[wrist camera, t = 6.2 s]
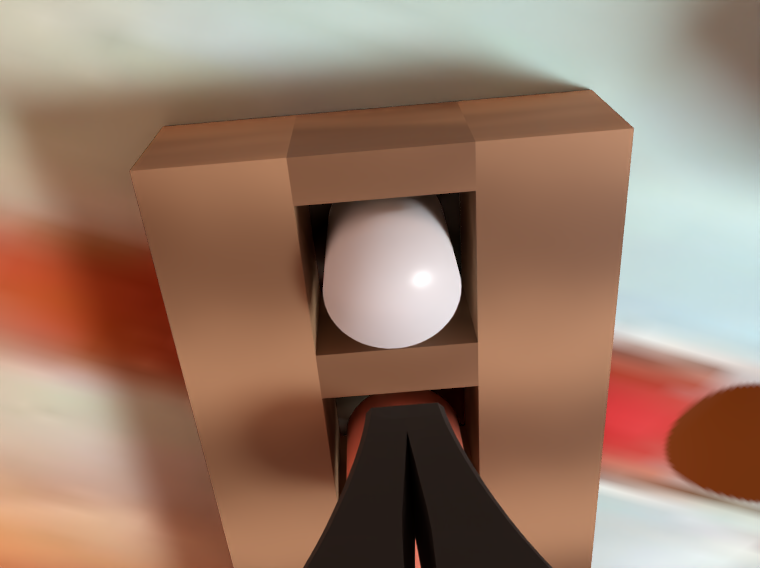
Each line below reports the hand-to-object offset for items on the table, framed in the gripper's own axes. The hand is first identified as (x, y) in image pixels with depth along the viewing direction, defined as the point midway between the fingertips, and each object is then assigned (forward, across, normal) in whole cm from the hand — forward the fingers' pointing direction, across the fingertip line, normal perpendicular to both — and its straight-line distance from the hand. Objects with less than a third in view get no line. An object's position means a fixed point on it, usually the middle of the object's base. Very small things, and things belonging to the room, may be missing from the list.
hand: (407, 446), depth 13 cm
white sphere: (+10, 0, 0) cm, 10 cm away
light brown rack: (+10, 0, +6) cm, 12 cm away
